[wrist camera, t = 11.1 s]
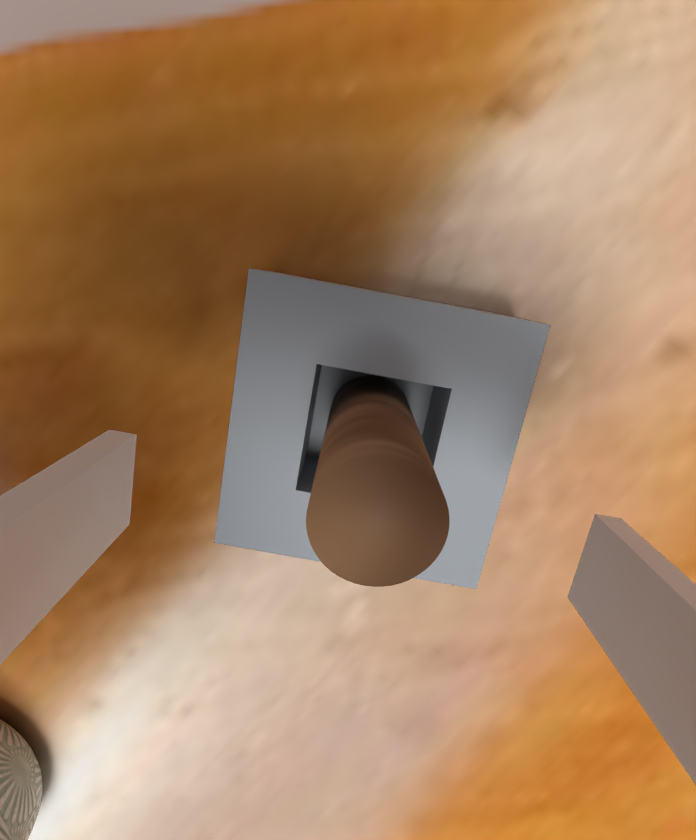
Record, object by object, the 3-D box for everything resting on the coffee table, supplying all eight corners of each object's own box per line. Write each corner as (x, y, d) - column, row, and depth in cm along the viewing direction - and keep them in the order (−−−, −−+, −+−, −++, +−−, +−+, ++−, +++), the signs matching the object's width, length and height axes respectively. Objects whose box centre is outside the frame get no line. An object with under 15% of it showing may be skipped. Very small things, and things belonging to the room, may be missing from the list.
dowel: (323, 444, 26) (295, 573, 15) (337, 368, 25) (318, 443, 14) (400, 458, 27) (431, 597, 15) (417, 383, 26) (464, 470, 14)
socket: (240, 497, 28) (214, 542, 23) (271, 271, 25) (248, 268, 20) (456, 536, 28) (476, 589, 23) (514, 316, 25) (550, 325, 20)
